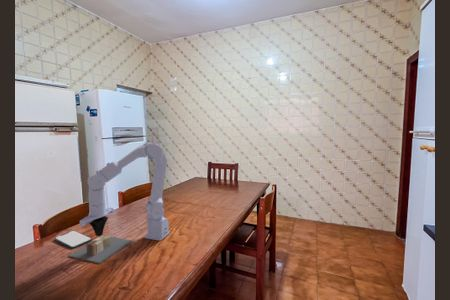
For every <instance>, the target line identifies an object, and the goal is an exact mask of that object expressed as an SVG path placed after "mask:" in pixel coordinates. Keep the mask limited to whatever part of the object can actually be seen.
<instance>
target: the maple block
mask: <svg viewBox="0 0 450 300" xmlns="http://www.w3.org/2000/svg"><path fill="white" fill-rule="evenodd" d="M110 237H111V235H106V234H105V235H104V234H102V235H101V236H97V237H96V238H95V239H92V241H91V242H89V243H87V244H85V246H86V249H87V254H90V255H96V254H98V253H99V252H101V251H102V250H104V249H106V248H107V247H109V246H110V245H111V239H110Z"/></svg>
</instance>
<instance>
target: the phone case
mask: <svg viewBox="0 0 450 300" xmlns="http://www.w3.org/2000/svg"><path fill="white" fill-rule="evenodd" d="M53 240H54V242H55V243H58V244H60V245H61V246H64V247H66V248H68V249H71V250H75V249H77V248H79V247H81V246H85V245H86V244H87V243H89V242H91V241H93V238H92V237H90V236H88V235H85V234H82V233H81V232H78V231H76V230H71V231H68V232H65V233H64V234H61V235H57V236H55V237H54V239H53Z"/></svg>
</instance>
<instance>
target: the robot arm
mask: <svg viewBox="0 0 450 300" xmlns="http://www.w3.org/2000/svg"><path fill="white" fill-rule="evenodd" d="M147 157H149V158H150V159H151V160H152V162H153V163H154V169H153V176H152V185H151V191H150V197H149V198H148V201H147V203H146V204H145V211H146V213H147V216H146V232H147V233H146V234H144V236H143V239H148V240H154V241H162V240H163V239H164V238H167V236H168V235H170V232H171V231H170V230H169V229H170V223H169V219H168V218H166V217H164V214H165V209H164V201H163V193H164V186H165V178H166V169H167V162H168V161H167V157H166V155H165V153H164V150H163V147H161V145H159V144H158V143H156V142H151V141H147V142H145V143H143V144H141V145H139V146H138V147H136V148H135V149H133V150H132V151H130V152H129V153H128V154H126V155H125V156H123V157H122V158H121V159H119V160H118V161H116V162H115V161H111V162H107V163H106V165H105V166H104V167H101V169H100V170H95V173H93V174H91V175H89V176H88V178H87V181H86V182H87V185H88V207H89V208H88V209H89V213H88V215H87V216H85V217H83V218H82V219H81V220H79V226H83V227H85V226H86V225H88V224H89V225H90V226H91V227H92V229H93V231H94V234H95V236H96V237H100V236H102V235H104V234H103V233H104V230H105V225H106V223H107V221H108V220H109V217H108V216H107V215H109V214H113V213H115V212H114V210H115V209H114V207H108V208H106V192H105V185H106V184H107V183H108V182H111V180H113V179H114V178H116V177H117V176H118V175H120V174H121V173H122V170H123V168H125V167H127V166H128V165H130V164H131V163H133V162H134V161H136V160H137V159H139V158H147Z"/></svg>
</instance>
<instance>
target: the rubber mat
mask: <svg viewBox="0 0 450 300" xmlns="http://www.w3.org/2000/svg"><path fill="white" fill-rule="evenodd" d="M110 239H111V245H110V246H109V247H107V248H106V249H104V250H102V251H101V252H99V253H98V254H96V255H90V254H87V249H86V245H83V247H81V248H79V249H77V250H75V251H74V252H72V253H70V254H68V258H69V257H70V258H72V259H78V260H82V261H85V262H90V263H93V264H99V265H100V264H103V263H104V262H105V261H106V260H108V259H109V258H111V257H113V256H114V255H115V254H116V253H117V254H118V252H120V251H121V250H122V249H123V248H125V247H126V246H128V245H130V244H131V243H132V242H133V240H131V239H127V238H126V239H125V238H121V237H114V236H110Z"/></svg>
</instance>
